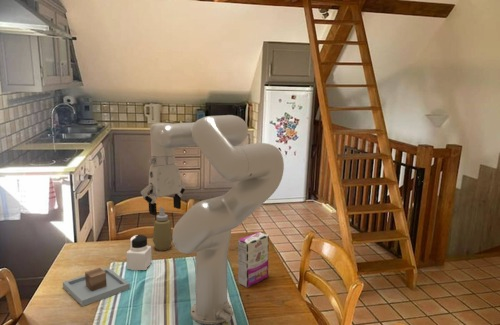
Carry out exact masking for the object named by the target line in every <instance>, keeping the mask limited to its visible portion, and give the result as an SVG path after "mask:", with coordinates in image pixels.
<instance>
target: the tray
mask: <svg viewBox="0 0 500 325" xmlns="http://www.w3.org/2000/svg"><path fill="white" fill-rule="evenodd" d="M102 270H103V271H104V272H106V283H107V286H106V287H104V288H101V289H98V290H95V291H91V290H90V289H89V288H88V287H87V286H86V280H85V274H84V275H81V276H77V277H75V278H71V279H68V280H65V281H62V288H63V289H64V290H65V291H66V292H67V293H68V294H69V295H70V296H71V297H72V298H73V299H74V300H75V301H76V302H77V303H78V304H79V305H80V307H84V306H87V305H90V304H94V303H96V302H99V301H101V300H103V299H107V298H110V297H112V296H115V295H118V294H120V293H123V292H125V291H127V290H130V289H131V287H130V286H131V283H130V282H128V281H127V280H126V279H124V278H123V277H122V276H120V275H118V273H117V272H114V271H113V270H112V269H110V268H109V267H107V268H103V269H102Z"/></svg>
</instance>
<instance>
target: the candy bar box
mask: <svg viewBox="0 0 500 325" xmlns="http://www.w3.org/2000/svg"><path fill="white" fill-rule="evenodd" d="M269 236H270V235H269V234H267V233H264V232H262V231H257V232H256V233H253V234H251V235H248V236H245V237H243V238H240V239H238V240H237V246H238V247H237V258H238V260H237V262H238V263H237V266H238V268H237V269H238V270H237V272H238V274H237V275H238V276H237V278H238V279H237V280H238V282H237V283H238V284H239V285H241V286H243V287H245V288H250V287H251V286H254V285H256V284H258V283H260V282H261V281H263V280H266V279H268V278H269V240H270V239H269Z"/></svg>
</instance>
